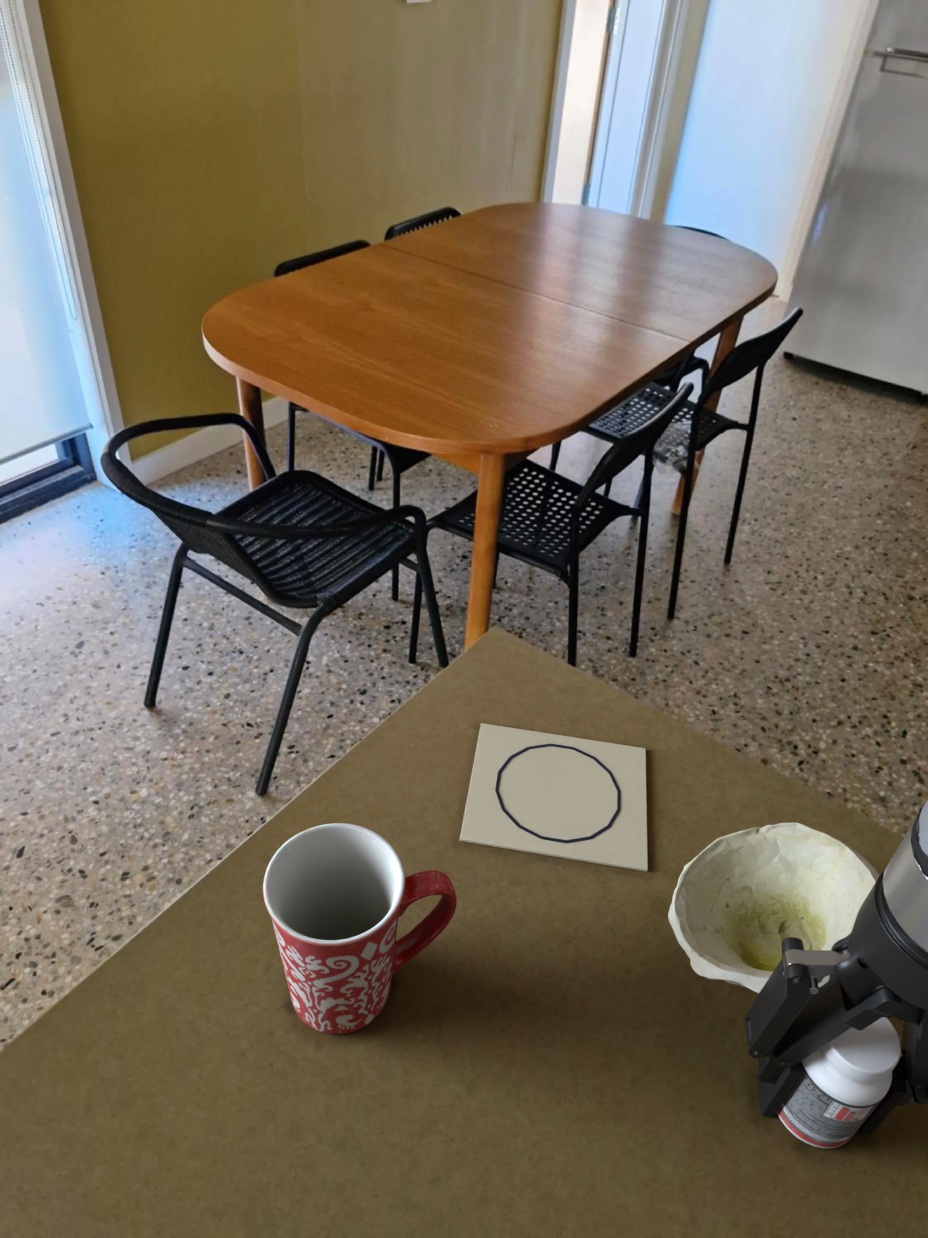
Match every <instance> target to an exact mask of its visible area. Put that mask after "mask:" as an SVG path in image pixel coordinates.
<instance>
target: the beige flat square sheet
mask: <svg viewBox="0 0 928 1238" xmlns="http://www.w3.org/2000/svg"><path fill="white" fill-rule="evenodd" d="M646 753H647V751H646V748H645V747H640V746H632V745H626V744H620V743H614V742H613V743H612V742H608V741H601V740H594V739H587V738H580V737H575V736H568V735H561V734H555V733H548V732H542V731H535V730H529V729H522V728H516V727H509V726H504V725H503V726H502V725H498V724H497V725H496V724H490V723H483V722H481V723H480V727H479V733H478V737H477V743H476V748H475V754H474V758H473V765H472V770H471V775H470V781H469V787H468V792H467V797H466V801H465V802H466V803H465V808H464V813H463V819H462V823H461V830H460V835H459V842H461V843H463V842H464V843H470V844H474V845H480V846H481V845H482V846H486V847H494V848H499V849H504V850H505V849H507V850H511V851H517V852H524V853H529V854H536V855H543V856H549V857H555V858H562V859H567V860H572V861H578V862H584V863H590V864H591V863H592V864H598V865H604V866H610V867H616V868H621V869H622V868H623V869H627V870H634V871H639V872H646V873H647V872H648V869H649V867H648V866H649V864H648V863H649V861H648V858H649V857H648V805H647V802H648V801H647V755H646Z"/></svg>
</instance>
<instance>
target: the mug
mask: <svg viewBox="0 0 928 1238" xmlns="http://www.w3.org/2000/svg"><path fill="white" fill-rule="evenodd" d="M262 883H263V884H262V895H263V900H264V905H265V908H266V910H267V912H268V914H269V916H270V918H271V920H272V926H273V930H274V934H275V938H276V941H277V946H278V949H279V954H280V958H281V962H282V966H283V972H284V975H285V978H286V982H287V987H288V992H289V996H290V1000H291V1003H292V1006H293V1009H294V1011H295V1012H296V1014H297V1016H298V1017H299V1018H300V1020H301V1021H303V1022H304V1023H305V1024H306V1025H307V1026H308V1027H310V1028H311V1029H314V1030H316V1031H318V1032H320V1033H323V1034H329V1035H344V1034H346V1035H347V1034H349V1033H354V1032H356V1031H359V1030H361V1029H363V1028H364V1027H366V1026H367V1025H369V1024H370V1023H371V1022H372V1021H374V1020H375V1019H376V1018H377V1017H378V1015H380V1014H381V1012H382V1011H383V1009H384V1007H385V1005H386V1003H387V1002H388V999H389V996H390V993H391V987H392V979H393V978H392V977H393V975H394V974H395V973H396V972H397V971H398V970H400V969H401V968H402V967H403V966H405V965H406V964H408V963H409V962H410V961H412V960H413V959H414V958H416V957H417V956H418V955H419V954H421V952H423V951H424V950H425V949H426V948H427V947H429V945H430V944H431V943H432V942H434V941H435V940H436V939H437V937H438V936H440V935H441V934H442V932H444V930H445V929H446V928H447V927H448V925H449V924H450V922H451V921H452V919H453V917H454V915H455V913H456V909H457V903H458V902H457V901H458V900H457V893H456V889H455V887H454V884H453V882H452V880H451V878H450V877H449V876H448V874H446V873H445V872H442V871H440V870H431V869H430V870H423V871H418V872H415V873H412V874H410V875H408V876H406V871H405V869H404V865H403V862H402V860H401V857H400V855H399V854H398V852H397V851H396V849H395V848H394V847H393V845H391V843H390V842H389V841H388V840H387V839H385V837H383V836H382V835H380V834H379V833H378V832H376V831H373V830H372V829H370V828H368V827H364V826H362V825H357V824H354V823H345V822H333V823H325V824H320V825H316V826H312V827H310V828H307V829H305V830H303V831H300V832H299V833H296V834H295V835H294V836H291V837H290V838H289V839H288V840H286V841H285V842H284V843H283V844H282V845H281V846H280V847H279V848H278V849H277V850H276V852H275V853H274V855H272V857H271V859H270V861H269V863H268V864H267V867H266V870H265V873H264V877H263V882H262ZM430 896H441V897H440V899H439V901H438V902H437V903H436V905H435V906H434V907H433V908H432V909H431V911H430V912H429V913H428V914H427V915H425V916H424V918H423V919H422V920H421V921H420V922H419V923H418V924H416V926H414V927H413V928H412V929H411V930H410V931H409V932H408V933H407V934H405V935H404V936H402V937H401V938H399V939H398V940H397V934H398V933H397V932H398V923H399V918H400V917H402V916H403V915H404V914H405V912H406V910H407V909H408V908H409V907H410V906H411V905H412V904H414V903H415V902H418V901H420V900H421V899H423V898H426V897H430Z"/></svg>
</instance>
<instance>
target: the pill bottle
mask: <svg viewBox="0 0 928 1238" xmlns="http://www.w3.org/2000/svg"><path fill="white" fill-rule="evenodd" d="M901 1056H902V1053H901V1040H900V1037H899V1035H898V1033H897V1030H896V1028H895V1026H894V1025H893V1024H892V1023H891V1021H890V1020H889V1019H888V1017H882V1018H880V1019H879V1020H877V1021H875V1022H874V1023H872V1024H871V1025H869V1026H868V1027H866V1028H865V1029H863V1030H861V1031H859V1030H856V1029H853V1028H850V1029H849V1030H847V1031H846V1032H844V1033H843V1034H841V1035H840V1036H838V1037H837V1038H835V1039H834V1040H832V1041H831V1042H829V1043H828V1044H826V1045H825V1046H823V1047H822V1048H820V1049H819V1050H817V1051H816V1052H814V1053H812V1054H811V1055H809V1056H808V1057H806V1058H805V1059H803V1060H802V1061H801V1067H802V1073H803V1075H802V1076H801V1078H800V1079H799V1081H798V1082H797V1083H796V1085H795V1086H794V1088H793V1089H792V1091H791V1092H790V1094H789V1095H788V1097H787V1098H786V1099H785V1101H784V1102H783V1104H782V1105H781V1107H780V1108H779V1110H778V1111H777V1113H776V1115H777V1117H778V1119H779V1120H780V1121H781V1123H782V1124H783V1125H784V1127H785V1128H786V1130H788V1131H789V1132H790V1133H791V1134H792V1135H793V1136H794V1137H796V1138H797V1139H798V1140H800V1141H801V1142H804V1143H805V1144H807V1145H810V1146H812V1147H815V1148H818V1149H834V1148H839V1147H841V1146H843V1145H845V1144H846V1143H847V1142H849V1141H850V1140H851V1139H852V1138H853V1137H854V1135H855V1134H856V1133H857V1132H858V1129H859V1128H860V1126H861V1125H862V1124H863V1123H864V1121H865V1120H866V1119H867V1118H868V1116H869V1115H870V1114H871V1113H872V1111H873V1110H874V1109H875V1108H876V1106H877V1105H878V1104H879V1103H880V1102H881V1100H882V1099H883V1098H884V1097H885V1095H886V1094H887V1092H888V1090H889V1088H890V1085H891V1081H892V1071H893V1069H894V1068H895V1066H896V1065H897V1063H898V1061H899V1059H900V1058H901Z"/></svg>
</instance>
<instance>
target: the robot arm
mask: <svg viewBox="0 0 928 1238" xmlns="http://www.w3.org/2000/svg"><path fill="white" fill-rule="evenodd" d="M781 948H782V959H781V961H780V962H779V964H778V965H777V967H776V968H775V970H774V971H773V973H772V975H771V976H770V978H769V979H768V981H767V982H766V984H765V985H764V987H763V988H762V990H761V991H760V993H757V996H756V997H755V999H754V1000H753V1001H752V1003H751V1004H750V1006H749V1008H748V1009H747V1011H746V1012H745V1014H744V1027H745V1035H746V1044H747V1053H748V1056H749V1057H751V1058H753V1059H756V1061H757V1069H758V1073H757V1075H756V1077H757V1088H758V1094H759V1104H760V1113H761V1114H760V1115H761V1117H766V1118H770V1119H772V1118H774V1117H775V1116H776V1115H777V1111H778V1110H779V1108H780V1107H781V1105H782V1104H783V1102H784V1101H785V1099H786V1098H787V1097H788V1095H789V1094H790V1092H791V1091H792V1089H793V1088H794V1086H795V1085H796V1083H797V1082H798V1081H799V1079H800V1078H801V1076H802V1075H803V1073H802V1067H801V1061H802V1060H803V1059H805V1058H806V1057H808V1056H809V1055H811V1054H812V1053H814V1052H816V1051H817V1050H819V1049H820V1048H822V1047H823V1046H825V1045H826V1044H828V1043H829V1042H831V1041H832V1040H834V1039H835V1038H837V1037H838V1036H840V1035H841V1034H843V1033H844V1032H846V1031H847V1030H849V1029H850V1028H853V1029H856V1030H859V1031H861V1030H863V1029H865V1028H866V1027H868V1026H869V1025H871V1024H872V1023H874V1022H875V1021H877V1020H879V1019H880V1018H882V1017H886V1018H890V1019H891V1018H893V1019H896V1020H899V1021H900V1022H901V1021H902V1022H903V1028H902V1035H901V1041H900V1044H901V1056H900V1059H899V1061H898V1063H897V1065H896V1066H895V1068H894V1069H893V1071H892V1081H891V1085H890V1088H889V1090H888V1092H887V1094H886V1095H885V1097H884V1098H883V1099H882V1100H881V1102H880V1103H879V1104H878V1105H877V1106H876V1108H875V1109H874V1110H873V1111H872V1113H871V1114H870V1115H869V1116H868V1118H867V1119H866V1120H865V1121H864V1123H863V1124H862V1125H861V1126H860V1128H859V1129H858V1130H857V1132H858V1134H859V1135H865V1136H871V1135H872V1134H873V1133H874V1132H875V1131H877V1128H879V1126H880V1125H881V1124H882V1123H883V1122H884V1121H885V1119H886V1118H888V1116H889V1115H890V1114H891V1113H892V1112H893V1110H894V1109H895V1108H896V1107H897V1106H898V1107H903V1106H905V1105H907V1104H909V1103H910V1102H911V1101H912V1102H913V1103H914V1104H917V1105H923V1106H924V1105H928V799H927V800H926V802H925V803H924V805H923V807H922V809H921V811H920V812H919V813H918V814H917V816H916V817H915V819H914V821H913V823H912V824H911V826H910V827H909V829H908V831H907V832H906V834H905V836H904V837H903V839H902V840H901V842H900V844H899V845H898V847H897V848H896V850H895V852H894V854H893V855H892V857H891V859H890V860H889V862H888V863H887V865H886V867H885V869H884V870H883V871H882V872H881V873H880V874H879V878H878V879H877V881H876V883H875V884H874V886H873V887H872V889H871V891H870V892H869V894H868V896H867V897H866V899H865V900H864V902H863V904H862V905H861V907H860V909H859V911H858V914H857V917H856V920H855V923H854V926H853V929H852V932H851V933H850V934H849V935H848V936H846V937H845V938H843V939H840V940H839V941H837V942H836V943H835V944H834V945H833V946H832V949H831V950H804V945H803V941H802V940H801V939H799V938H796V937H788V938H785V939H784V940H782V942H781ZM828 975H830V978H829V981H828V982H827V983H825V984H824V985H823V986H821V987H820V988H818V983H820V982H821V981H822V980H823V978H824V977H826V976H828Z"/></svg>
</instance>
